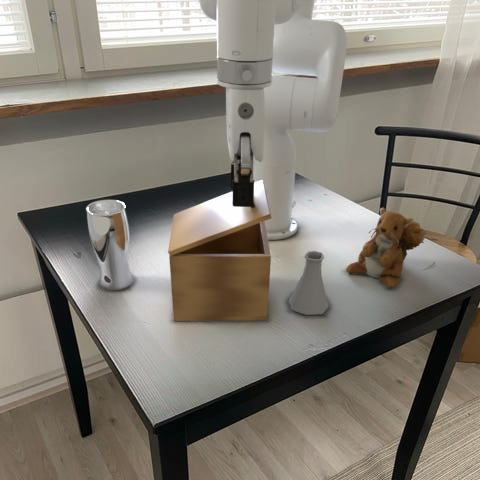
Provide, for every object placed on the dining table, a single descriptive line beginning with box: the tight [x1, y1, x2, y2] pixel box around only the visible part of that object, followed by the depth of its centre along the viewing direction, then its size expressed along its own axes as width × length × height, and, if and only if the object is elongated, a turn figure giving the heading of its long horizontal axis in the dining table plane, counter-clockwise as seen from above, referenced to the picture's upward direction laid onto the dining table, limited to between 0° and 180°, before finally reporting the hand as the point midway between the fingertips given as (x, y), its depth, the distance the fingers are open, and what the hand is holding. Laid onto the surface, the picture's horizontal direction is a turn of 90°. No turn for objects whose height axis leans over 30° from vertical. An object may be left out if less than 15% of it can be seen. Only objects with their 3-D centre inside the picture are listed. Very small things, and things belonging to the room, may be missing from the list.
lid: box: [167, 165, 271, 256], centre depth 79 cm, size 17×14×6 cm
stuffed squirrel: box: [345, 207, 426, 289], centre depth 95 cm, size 10×14×13 cm
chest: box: [168, 221, 272, 322], centre depth 86 cm, size 16×14×12 cm
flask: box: [288, 250, 330, 316], centre depth 86 cm, size 7×7×10 cm
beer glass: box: [85, 199, 134, 291], centre depth 89 cm, size 7×7×15 cm
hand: (241, 196), depth 79 cm, fingers closed on lid, 6 cm apart
